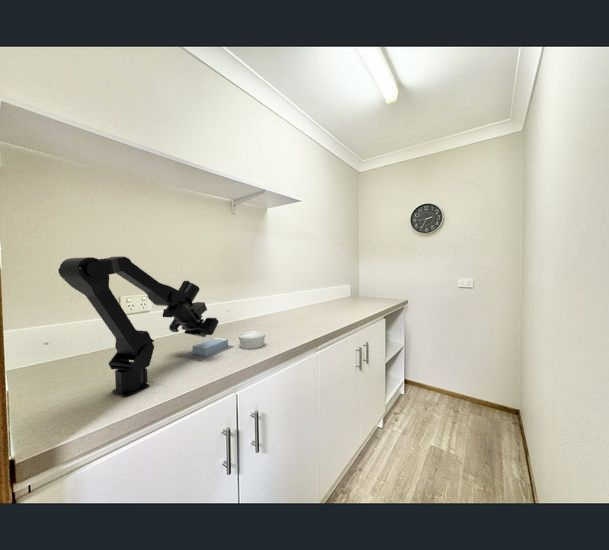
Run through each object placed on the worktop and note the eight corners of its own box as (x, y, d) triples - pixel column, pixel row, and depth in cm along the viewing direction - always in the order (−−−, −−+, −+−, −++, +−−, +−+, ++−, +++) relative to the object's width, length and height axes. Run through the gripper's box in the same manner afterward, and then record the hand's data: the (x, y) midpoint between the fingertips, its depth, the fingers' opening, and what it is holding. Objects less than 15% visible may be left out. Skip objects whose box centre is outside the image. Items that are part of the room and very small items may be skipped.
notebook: (205, 348, 93) (227, 339, 103) (192, 345, 96) (215, 337, 106) (205, 356, 93) (228, 346, 103) (192, 353, 96) (215, 344, 107)
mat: (200, 362, 87) (200, 361, 87) (177, 357, 93) (177, 356, 93) (234, 347, 104) (234, 346, 104) (213, 343, 109) (213, 343, 109)
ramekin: (241, 342, 110) (241, 331, 110) (266, 342, 111) (266, 330, 110) (235, 351, 99) (235, 338, 99) (263, 350, 99) (263, 337, 99)
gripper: (214, 296, 89) (233, 320, 100) (174, 295, 95) (195, 318, 106) (200, 322, 82) (221, 345, 93) (157, 319, 88) (182, 341, 98)
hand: (204, 336), depth 98 cm, fingers closed
